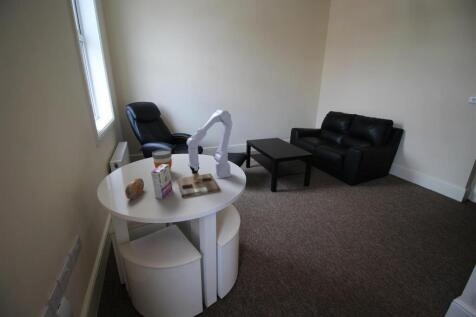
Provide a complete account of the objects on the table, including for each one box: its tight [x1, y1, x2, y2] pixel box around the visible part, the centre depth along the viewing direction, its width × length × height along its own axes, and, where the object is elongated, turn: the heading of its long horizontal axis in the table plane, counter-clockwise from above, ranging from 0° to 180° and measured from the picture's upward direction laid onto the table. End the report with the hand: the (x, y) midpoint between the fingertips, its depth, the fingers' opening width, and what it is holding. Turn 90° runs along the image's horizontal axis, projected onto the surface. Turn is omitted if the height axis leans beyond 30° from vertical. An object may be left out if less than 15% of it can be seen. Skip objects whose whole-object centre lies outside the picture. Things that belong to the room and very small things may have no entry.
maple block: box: [191, 172, 201, 182], centre depth 136 cm, size 4×4×4 cm
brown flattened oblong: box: [124, 178, 145, 200], centre depth 123 cm, size 15×3×8 cm, turn 174°
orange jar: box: [152, 149, 173, 174], centre depth 151 cm, size 13×13×15 cm
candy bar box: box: [150, 164, 173, 200], centre depth 122 cm, size 11×5×16 cm, turn 168°
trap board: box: [176, 173, 221, 198], centre depth 134 cm, size 22×22×2 cm
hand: (195, 176), depth 139 cm, fingers closed
